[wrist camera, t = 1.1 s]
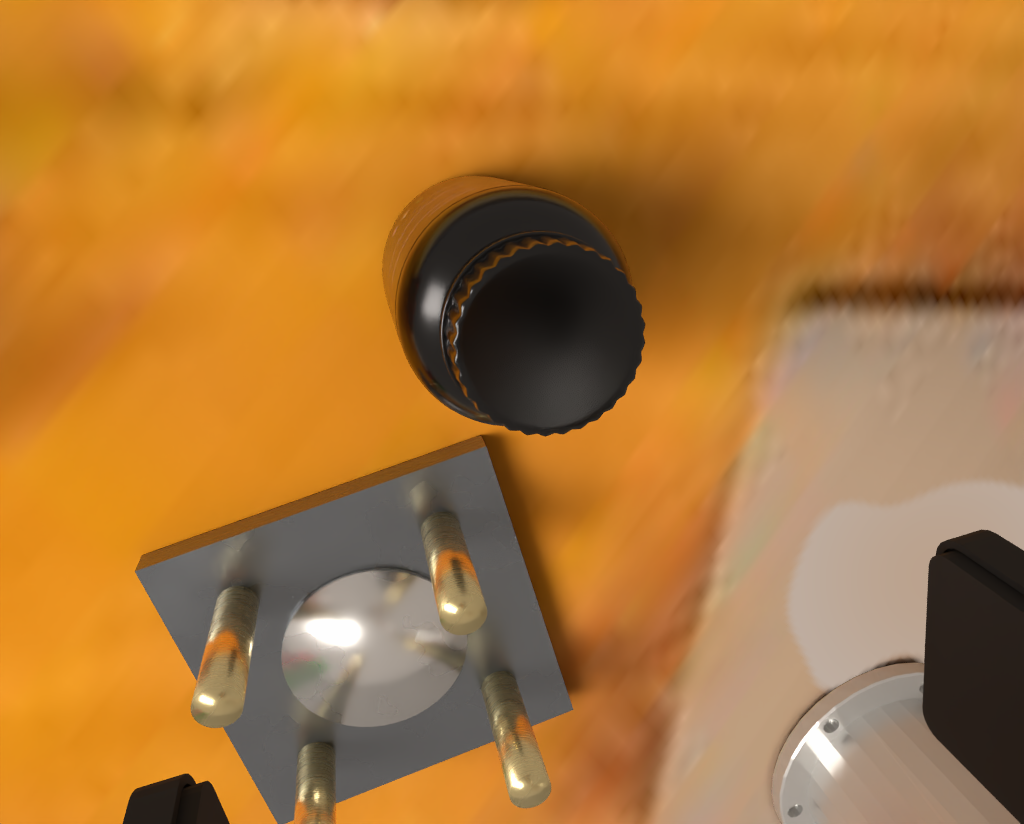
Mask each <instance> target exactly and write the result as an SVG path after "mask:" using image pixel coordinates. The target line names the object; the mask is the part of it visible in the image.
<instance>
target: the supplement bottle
mask: <svg viewBox="0 0 1024 824" xmlns="http://www.w3.org/2000/svg"><path fill="white" fill-rule="evenodd" d="M382 271H383V283H384V289H385V294H386V298H387V301H388V305H389V308H390V311H391V314H392V318H393V321H394V324H395V327H396V331H397V334H398V337H399V340H400V342H401V345H402V348H403V351H404V353H405V356H406V358H407V360H408V362H409V364H410V366H411V368H412V369H413V371H414V373H415V374H416V376H417V377H418V379H419V380H420V381H421V383H422V384H423V385H424V387H425V388H426V389H427V390H428V391H429V392H430V393H431V394H432V395H433V396H434V397H435V398H436V399H438V400H439V401H440V402H441V403H443V404H444V405H445V406H447V407H448V408H450V409H451V410H453V411H455V412H457V413H459V414H461V415H463V416H465V417H467V418H470V419H472V420H475V421H479V422H482V423H486V424H491V425H499V426H505V427H506V428H507V429H508V430H512V431H519V430H520V431H521V432H523V433H524V434H526V435H532V434H540V435H542V436H548V435H551V434H553V433H558V434H565V433H567V432H568V431H570V430H572V429H581V428H583V427H584V426H585V425H586V424H587V423H588V422H591V421H596V420H598V419H599V418H600V417H601V415H602V414H603V413H604V412H606V411H608V410H610V409H612V408H613V406H614V405H615V403H616V401H617V400H618V399H619V398H621V397H622V396H624V395H625V393H626V390H627V387H628V385H629V384H630V383H631V382H632V381H633V380H634V379H635V374H636V369H637V367H638V366H639V364H640V363H641V361H642V356H641V351H642V349H643V347H644V344H645V340H644V336H643V331H644V328H645V322H644V320H643V318H642V317H641V312H642V305H641V304H640V302H639V301H638V300H637V299H636V291H635V287H634V286H632V279H631V275H630V271H629V267H628V265H627V262H626V259H625V256H624V254H623V252H622V250H621V248H620V246H619V244H618V243H617V241H616V239H615V238H614V236H613V235H612V233H611V232H610V231H609V229H608V228H607V227H606V226H605V225H604V224H603V223H602V221H601V220H600V219H599V218H598V217H596V216H595V215H594V214H593V213H592V212H591V211H589V210H588V209H587V208H585V207H584V206H582V205H581V204H579V203H577V202H576V201H574V200H572V199H570V198H568V197H566V196H564V195H561V194H559V193H557V192H554V191H551V190H547V189H544V188H540V187H535V186H531V185H526V184H522V183H517V182H513V181H509V180H504V179H499V178H494V177H487V176H463V177H457V178H452V179H449V180H446V181H443V182H440V183H438V184H436V185H434V186H432V187H430V188H428V189H427V190H425V191H423V192H422V193H421V194H419V195H418V196H417V197H416V198H414V199H413V200H412V201H411V202H410V203H409V204H408V205H407V206H406V207H405V209H404V210H403V211H402V212H401V214H400V215H399V216H398V218H397V220H396V221H395V223H394V225H393V227H392V229H391V231H390V234H389V236H388V239H387V242H386V246H385V250H384V256H383V268H382Z"/></svg>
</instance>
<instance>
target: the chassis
mask: <svg viewBox="0 0 1024 824" xmlns="http://www.w3.org/2000/svg"><path fill="white" fill-rule="evenodd" d="M135 572H136V574H137V576H138V578H139V580H140V581H141V583H142V585H143V587H144V588H145V590H146V592H147V594H148V595H149V597H150V599H151V601H152V602H153V604H154V606H155V608H156V610H157V611H158V613H159V615H160V617H161V618H162V620H163V622H164V624H165V625H166V627H167V629H168V631H169V632H170V634H171V636H172V638H173V640H174V641H175V643H176V645H177V647H178V648H179V650H180V652H181V654H182V655H183V657H184V659H185V661H186V662H187V664H188V666H189V668H190V670H191V671H192V673H193V675H194V677H195V678H196V680H197V683H196V687H195V692H194V696H193V700H192V704H191V713H192V716H193V717H194V719H195V720H196V721H197V722H198V723H200V724H201V725H204V726H206V727H211V728H221V727H223V728H224V730H225V731H226V733H227V735H228V737H229V738H230V740H231V742H232V744H233V745H234V747H235V749H236V751H237V752H238V754H239V756H240V758H241V760H242V761H243V763H244V765H245V767H246V768H247V770H248V772H249V774H250V775H251V777H252V779H253V781H254V782H255V784H256V786H257V788H258V790H259V791H260V793H261V795H262V797H263V798H264V800H265V802H266V804H267V805H268V807H269V809H270V811H271V812H272V814H273V816H274V818H275V820H276V821H277V823H278V824H285V823H288V822H290V821H293V820H294V824H336V803H338V802H341V801H343V800H346V799H348V798H351V797H353V796H356V795H358V794H361V793H364V792H366V791H369V790H371V789H374V788H376V787H379V786H381V785H384V784H386V783H389V782H391V781H394V780H396V779H399V778H402V777H404V776H407V775H409V774H412V773H414V772H417V771H419V770H422V769H424V768H427V767H429V766H432V765H434V764H437V763H439V762H442V761H445V760H447V759H450V758H452V757H455V756H457V755H460V754H462V753H465V752H467V751H470V750H472V749H475V748H477V747H480V746H483V745H485V744H488V743H490V742H493V741H495V744H496V748H497V751H498V755H499V759H500V763H501V766H502V770H503V774H504V778H505V782H506V785H507V789H508V793H509V797H510V800H511V802H512V803H513V804H514V805H516V806H517V807H520V808H532V807H535V806H537V805H539V804H541V803H542V802H544V801H545V800H546V799H547V798H548V796H549V794H550V792H551V783H550V780H549V777H548V774H547V771H546V768H545V765H544V762H543V759H542V756H541V753H540V750H539V747H538V744H537V741H536V738H535V735H534V732H533V729H532V726H533V725H536V724H538V723H541V722H543V721H546V720H548V719H551V718H553V717H556V716H558V715H561V714H564V713H566V712H569V711H571V710H573V707H572V704H571V701H570V698H569V695H568V692H567V689H566V686H565V683H564V680H563V677H562V674H561V671H560V668H559V665H558V662H557V659H556V656H555V653H554V650H553V647H552V644H551V641H550V638H549V635H548V632H547V629H546V626H545V623H544V620H543V617H542V614H541V611H540V607H539V604H538V601H537V598H536V595H535V592H534V589H533V586H532V583H531V580H530V577H529V574H528V571H527V568H526V565H525V562H524V559H523V556H522V553H521V550H520V547H519V544H518V541H517V538H516V535H515V532H514V529H513V526H512V523H511V520H510V517H509V514H508V510H507V507H506V504H505V501H504V498H503V495H502V492H501V489H500V486H499V483H498V480H497V477H496V474H495V471H494V468H493V465H492V462H491V459H490V456H489V453H488V450H487V447H486V445H485V442H484V440H483V438H482V436H481V435H480V436H477V437H474V438H471V439H469V440H466V441H463V442H460V443H457V444H454V445H452V446H449V447H446V448H443V449H440V450H438V451H435V452H432V453H429V454H426V455H423V456H421V457H418V458H415V459H412V460H409V461H407V462H404V463H401V464H398V465H395V466H393V467H390V468H387V469H384V470H381V471H378V472H376V473H373V474H370V475H367V476H364V477H362V478H359V479H356V480H353V481H350V482H347V483H345V484H342V485H339V486H336V487H333V488H331V489H328V490H325V491H322V492H319V493H316V494H314V495H311V496H308V497H305V498H302V499H300V500H297V501H294V502H291V503H288V504H285V505H283V506H280V507H277V508H274V509H271V510H269V511H266V512H263V513H260V514H257V515H254V516H252V517H249V518H246V519H243V520H240V521H238V522H235V523H232V524H229V525H226V526H224V527H221V528H218V529H215V530H212V531H209V532H207V533H204V534H201V535H198V536H195V537H193V538H190V539H187V540H184V541H181V542H178V543H176V544H173V545H170V546H167V547H164V548H162V549H159V550H156V551H153V552H150V553H147V554H145V555H142V557H141V559H140V561H139V563H138V566H137V568H136V570H135Z"/></svg>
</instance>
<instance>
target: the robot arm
mask: <svg viewBox="0 0 1024 824" xmlns="http://www.w3.org/2000/svg"><path fill="white" fill-rule="evenodd" d="M928 574H929V575H928V596H927V617H926V618H927V619H926V639H925V660H924V664H923V663H901V664H894V665H889V666H885V667H881V668H877V669H874V670H871V671H869V672H866V673H864V674H861V675H859V676H856V677H854V678H852V679H851V680H849V681H847V682H845V683H844V684H842V685H840V686H839V687H837V688H835V689H834V690H832V691H831V692H830V693H829V694H827V695H826V696H825V697H823V698H822V699H821V700H820V701H818V702H817V703H816V704H815V705H814V706H813V707H812V708H811V709H810V710H809V711H808V712H807V713H806V714H805V715H804V716H803V717H802V718H801V720H800V721H799V722H798V724H797V725H796V727H795V728H794V729H793V731H792V732H791V733H790V735H789V736H788V738H787V740H786V742H785V744H784V746H783V748H782V750H781V752H780V754H779V756H778V759H777V763H776V766H775V769H774V772H773V780H772V798H773V805H774V809H775V811H776V813H777V816H778V818H779V820H780V822H781V823H782V824H1024V551H1023V550H1022V549H1020V548H1018V547H1017V546H1015V545H1014V544H1012V543H1010V542H1009V541H1007V540H1005V539H1004V538H1002V537H1001V536H999V535H998V534H996V533H994V532H991V531H989V530H979V531H976V532H972V533H969V534H966V535H963V536H959V537H956V538H953V539H950V540H946V541H944V542H942V543H940V545H939V546H938V548H937V551H936V556H934V557H932V559H931V560H930V563H929V573H928ZM123 824H229V821H228V819H227V817H226V815H225V812H224V810H223V808H222V806H221V803H220V801H219V799H218V797H217V794H216V792H215V790H214V788H213V786H212V784H211V783H210V782H209V781H205V782H202V783H198V784H196V783H195V781H194V779H193V778H192V776H190V775H189V774H183V775H179V776H176V777H173V778H169V779H166V780H163V781H160V782H156V783H153V784H150V785H147V786H143V787H140V788H137V789H135V790H134V791H133V793H132V794H131V797H130V799H129V802H128V806H127V809H126V813H125V817H124V821H123Z"/></svg>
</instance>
